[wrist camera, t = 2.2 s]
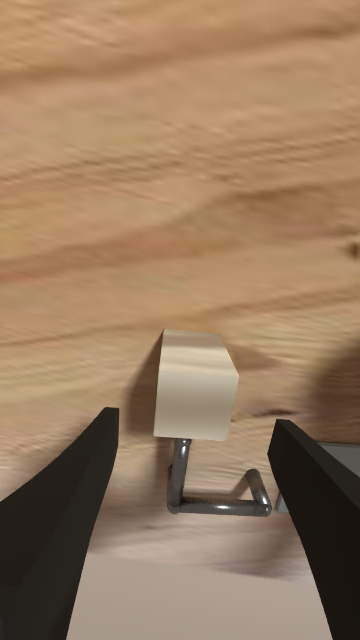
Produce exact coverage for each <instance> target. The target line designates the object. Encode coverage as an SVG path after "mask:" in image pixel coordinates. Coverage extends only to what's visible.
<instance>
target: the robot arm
mask: <svg viewBox="0 0 360 640" xmlns="http://www.w3.org/2000/svg"><path fill="white" fill-rule="evenodd" d="M118 434H119V408H110V407H105V408H104V409H103V410H102V411H101V412H100V413H99V415H98V416H97V417H96V418H95V419H94V420H93V422H92V423H91V424H90V425H89V426H88V427H87V428H86V429H85V430H84V431H83V432H82V433H81V434H80V435H79V437H78V438H77V439H76V440H75V441H74V442H73V443H72V444H71V445H70V446H69V447H67V448H66V449H65V450H64V451H63V452H62V453H61V454H60V455H59V456H58V457H57V458H56V459H55V460H54V461H52V462H51V463H50V464H49V465H48V466H47V467H45V468H44V469H43V470H42V471H41V472H39V473H38V474H37V475H36V476H34V477H33V478H32V479H31V480H29V481H28V482H27V483H25V484H24V485H23V486H21V487H20V488H19V489H17V490H16V491H15V492H13V493H12V494H11V495H9V496H8V497H6V498H5V499H4V500H2V501H1V502H0V640H66V637H67V633H68V629H69V624H70V620H71V615H72V611H73V607H74V602H75V599H76V594H77V590H78V586H79V582H80V578H81V573H82V569H83V565H84V561H85V557H86V553H87V549H88V545H89V541H90V538H91V534H92V531H93V527H94V524H95V521H96V518H97V515H98V512H99V509H100V506H101V503H102V500H103V497H104V494H105V491H106V488H107V485H108V482H109V479H110V476H111V473H112V470H113V466H114V462H115V457H116V453H117V448H118ZM267 455H268V458H269V462H270V465H271V469H272V472H273V475H274V478H275V481H276V483H277V485H278V488H279V490H280V493H281V495H282V497H283V500H284V502H285V504H286V507H287V509H288V511H289V514H290V516H291V518H292V521H293V523H294V525H295V528H296V530H297V532H298V535H299V537H300V540H301V542H302V545H303V547H304V550H305V553H306V556H307V559H308V562H309V565H310V568H311V571H312V574H313V577H314V580H315V583H316V586H317V589H318V592H319V595H320V598H321V602H322V605H323V608H324V612H325V614H326V618H327V621H328V625H329V628H330V632H331V635H332V639H333V640H360V477H359V476H357V475H356V474H355V473H354V472H352V471H351V470H350V469H348V468H347V467H346V466H344V465H343V464H342V463H341V462H339V461H338V460H337V459H336V458H335V457H333V456H332V455H331V454H330V453H328V452H327V451H326V450H325V449H324V448H322V447H321V446H320V445H319V444H318V443H317V442H315V441H314V440H313V439H312V438H311V437H310V436H308V435H307V434H306V433H305V432H304V431H303V430H301V429H300V428H299V427H298V426H297V425H295V424H294V423H293V422H292V421H290V420H284V419H276V423H275V427H274V430H273V434H272V438H271V442H270V446H269V450H268V453H267Z"/></svg>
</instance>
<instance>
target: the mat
mask: <svg viewBox="0 0 360 640" xmlns="http://www.w3.org/2000/svg"><path fill="white" fill-rule="evenodd" d="M317 443H318V444H319V445H320V446H321V447H322V448H324V449H325V450H326V451H327V452H328V453H330V454H331V455H332V456H333V457H335V458H336V459H337V460H338V461H339V462H341V463H342V464H343V465H344V466H346V467H347V468H348V469H350V470H351V471H352V472H354V473H355V474H356V475H357V476H359V477H360V445H356V444H341V443H326V442H317ZM276 510H277V512H278V513H289V511H288V509H287V507H286V504H285V502H284V500H283V497H282V495H281V493H280V496H279V499H278V503H277V506H276Z"/></svg>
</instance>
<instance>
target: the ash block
mask: <svg viewBox="0 0 360 640" xmlns="http://www.w3.org/2000/svg"><path fill="white" fill-rule="evenodd" d="M238 380H239V375H238V373H237V371H236V369H235V367H234V365H233V363H232V360H231V358H230V356H229V354H228V352H227V350H226V348H225V346H224V343H223V341H222V339H221V337H220V335H219V334H216V333H205V332H194V331H182V330H171V329H164V333H163V341H162V349H161V358H160V366H159V376H158V388H157V400H156V411H155V423H154V435H153V436H158V437H173V438H188V439H204V440H219V441H227V436H228V431H229V426H230V421H231V416H232V411H233V406H234V401H235V395H236V390H237V385H238Z"/></svg>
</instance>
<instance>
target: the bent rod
mask: <svg viewBox="0 0 360 640" xmlns="http://www.w3.org/2000/svg"><path fill="white" fill-rule="evenodd" d="M191 442H192V440H191V439H188V438H174V443H175V451H174V459H173V465H171V466H169V468H168V486H167V508H168V510H169V512H171V513H172V514H177V513H198V514H218V515H237V516H257V517H268V516H269V515H270V514H271V510H272V506H271V503H270V500H269V498H268V495H267V492H266V489H265V487H264V484H263V481H262V478H261V476H260V473H259V471H258V470H256V469H251V470H249V471H248V472H247V473H246V477H247V480H248V483H249V486H250V490H251V493H252V496H253V500H239V499H221V498H202V497H184V496H183V489H184V482H185V475H186V468H187V461H188V454H189V447H190V444H191Z"/></svg>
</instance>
